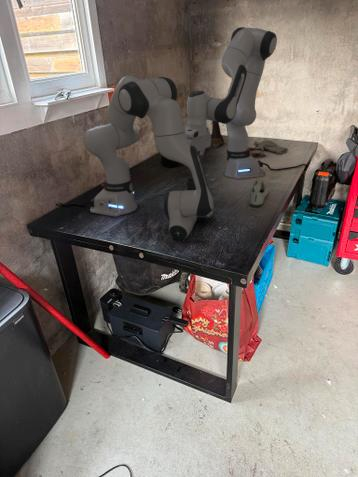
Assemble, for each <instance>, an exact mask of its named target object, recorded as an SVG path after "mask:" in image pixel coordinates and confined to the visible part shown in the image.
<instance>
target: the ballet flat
mask: <svg viewBox="0 0 358 477" xmlns="http://www.w3.org/2000/svg"><path fill="white" fill-rule="evenodd" d="M268 194H269V189H268V186H267V183H266V182H265V181H264V180H262V179H257V180H255V181H254V182H253V184H252V187H251V190H250V196H249V204H250V205H251V206H252V207H260V206H261V205H263V203H264V201H265V198H266V196H267V195H268Z"/></svg>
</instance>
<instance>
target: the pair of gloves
mask: <svg viewBox="0 0 358 477" xmlns="http://www.w3.org/2000/svg"><path fill="white" fill-rule="evenodd" d="M253 146H254V147H251V146H248V147H247V149H249V150H251V151H252V152H253V154H252V155H250V156H252V157H253V158H254V157H256V156H263V157H267V154H266V153H265V152H264V150H266V151H269V152H272V153H275V154H278V155H280V154H284V153H287V152H288V150H289V149H288V148H287V147H281V146H279V145H278V144H277V143H276V142H274V141H272V140H269V139H266V140H262V141H260V142H258V141H257V140H255V141H254V142H253Z"/></svg>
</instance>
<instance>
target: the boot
mask: <svg viewBox="0 0 358 477" xmlns="http://www.w3.org/2000/svg"><path fill="white" fill-rule="evenodd" d="M211 125H212V126H211V127H212V129H211V130H212V131H211V133H210V135H211V144H212V146H213V148H214V149H215V148H218V147H219V146H221V145H222V144H224V143H225V139H224V137H223V135H222V133H221V128H220V122H216V121H211Z"/></svg>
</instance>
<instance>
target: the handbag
mask: <svg viewBox="0 0 358 477" xmlns="http://www.w3.org/2000/svg"><path fill="white" fill-rule="evenodd" d="M178 164H180V163H179V162H176V161H173V160H170V159H167V158H165V157H164V156H162V155H161V154H160V165H161V166H163V167H171V168H173V167H175V166H178Z"/></svg>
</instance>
